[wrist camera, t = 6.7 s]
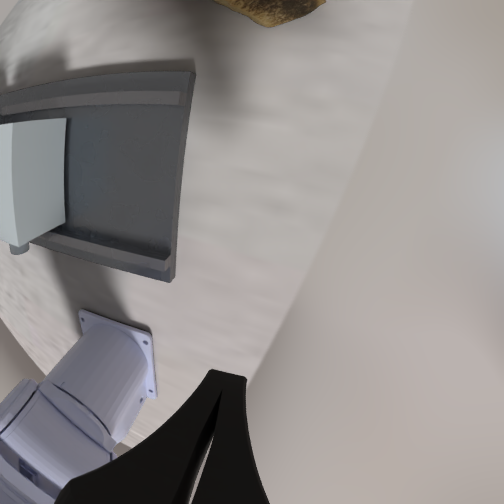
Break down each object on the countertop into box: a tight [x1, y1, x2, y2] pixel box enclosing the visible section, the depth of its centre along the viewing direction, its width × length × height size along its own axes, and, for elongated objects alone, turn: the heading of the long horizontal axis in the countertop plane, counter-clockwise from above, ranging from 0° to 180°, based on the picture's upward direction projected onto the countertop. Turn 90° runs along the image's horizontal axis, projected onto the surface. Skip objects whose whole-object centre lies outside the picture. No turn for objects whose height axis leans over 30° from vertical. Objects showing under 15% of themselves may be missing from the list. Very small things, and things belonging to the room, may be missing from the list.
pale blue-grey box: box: [0, 118, 66, 255], centre depth 16 cm, size 10×9×5 cm
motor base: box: [0, 71, 196, 283], centre depth 16 cm, size 14×25×6 cm, turn 81°
